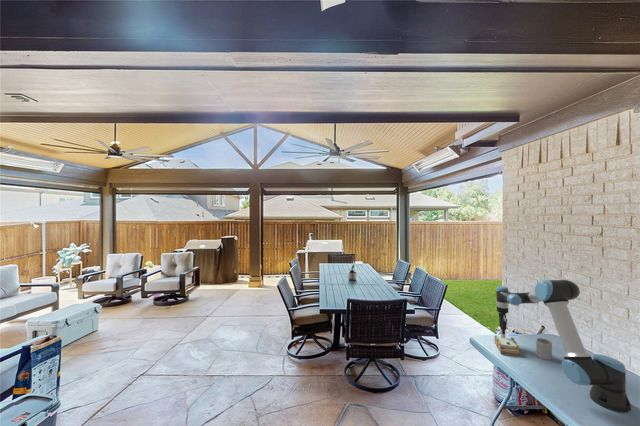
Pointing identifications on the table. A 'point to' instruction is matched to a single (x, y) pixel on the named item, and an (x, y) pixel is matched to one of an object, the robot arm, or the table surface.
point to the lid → (507, 343)
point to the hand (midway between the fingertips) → (503, 337)
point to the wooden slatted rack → (508, 350)
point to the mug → (544, 348)
